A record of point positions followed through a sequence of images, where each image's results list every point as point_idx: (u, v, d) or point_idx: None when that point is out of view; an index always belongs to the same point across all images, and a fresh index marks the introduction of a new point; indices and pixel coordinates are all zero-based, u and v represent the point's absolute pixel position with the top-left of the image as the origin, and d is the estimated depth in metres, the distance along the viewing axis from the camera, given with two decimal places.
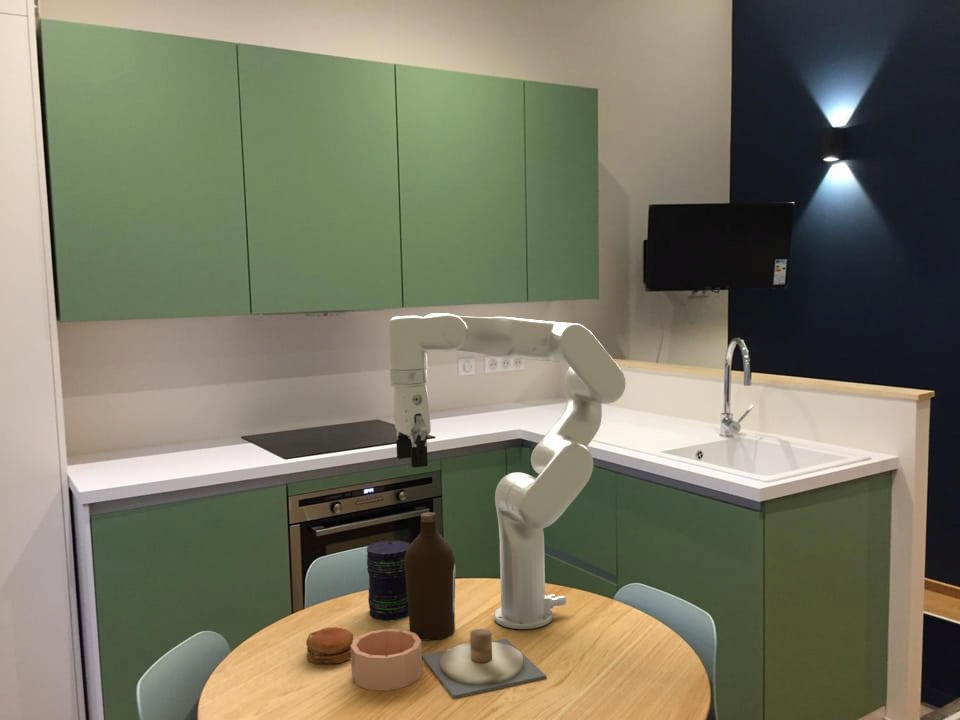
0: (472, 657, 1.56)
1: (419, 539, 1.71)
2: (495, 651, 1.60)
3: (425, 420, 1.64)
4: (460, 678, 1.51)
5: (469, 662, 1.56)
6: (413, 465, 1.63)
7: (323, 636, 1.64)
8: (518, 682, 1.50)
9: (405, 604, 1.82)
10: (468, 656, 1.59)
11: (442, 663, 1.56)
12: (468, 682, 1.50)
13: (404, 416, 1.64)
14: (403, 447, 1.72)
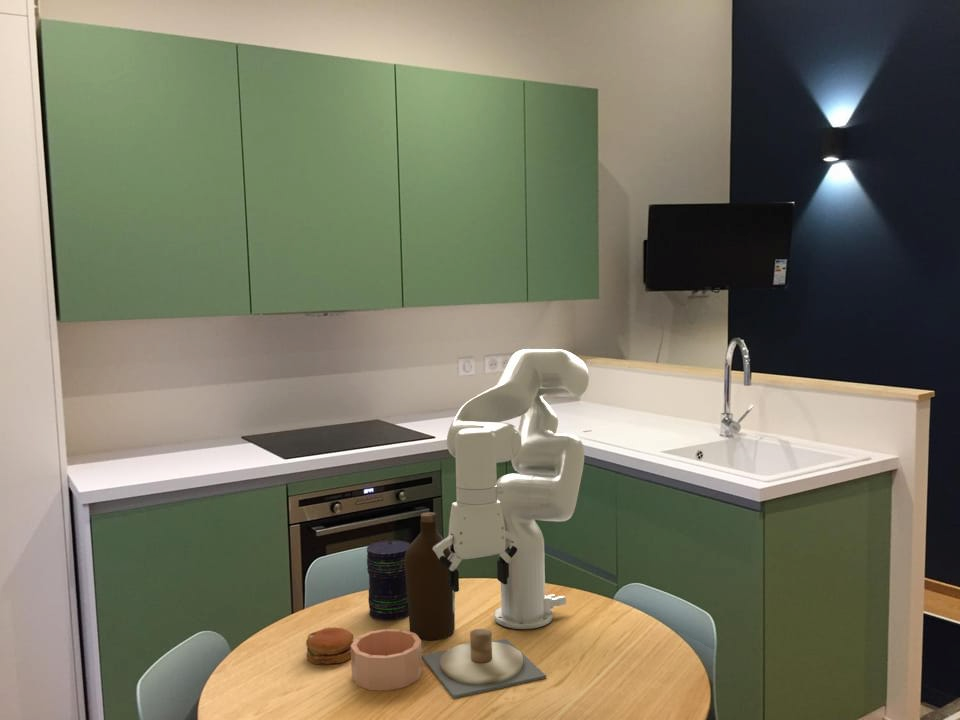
0: (472, 657, 1.56)
1: (419, 539, 1.71)
2: (495, 651, 1.60)
3: None
4: (460, 678, 1.51)
5: (469, 662, 1.56)
6: None
7: (322, 636, 1.64)
8: (518, 682, 1.50)
9: (405, 604, 1.82)
10: (468, 656, 1.59)
11: (442, 663, 1.56)
12: (468, 682, 1.50)
13: (498, 534, 1.54)
14: None
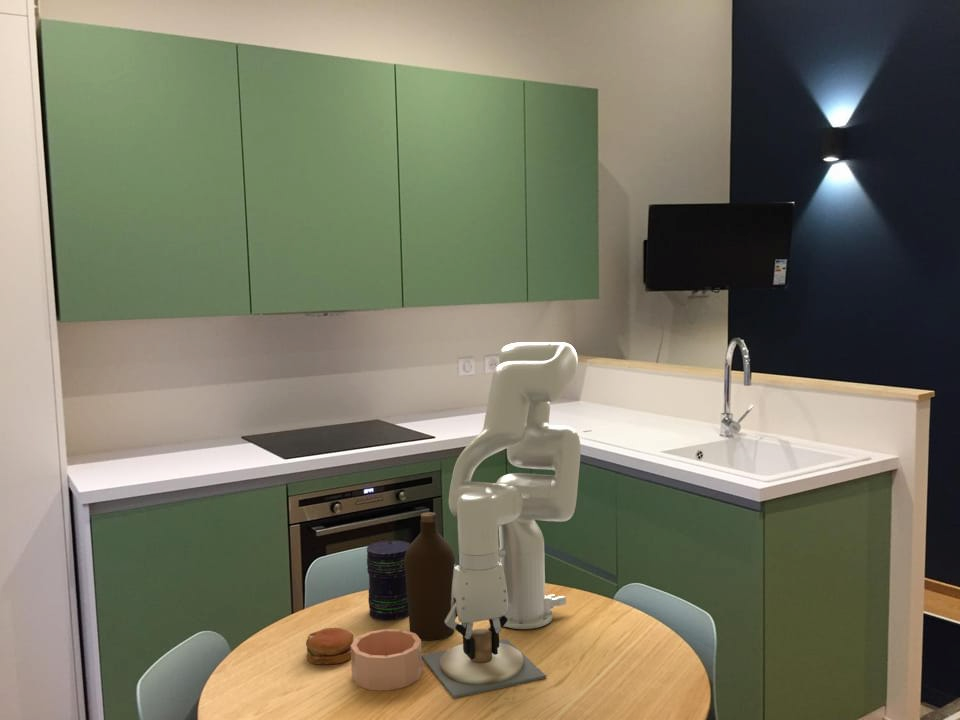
0: None
1: (419, 539, 1.71)
2: None
3: None
4: (460, 678, 1.51)
5: (469, 662, 1.56)
6: None
7: (322, 636, 1.63)
8: (518, 682, 1.50)
9: (405, 604, 1.82)
10: None
11: (442, 663, 1.56)
12: (468, 682, 1.50)
13: (500, 597, 1.55)
14: None
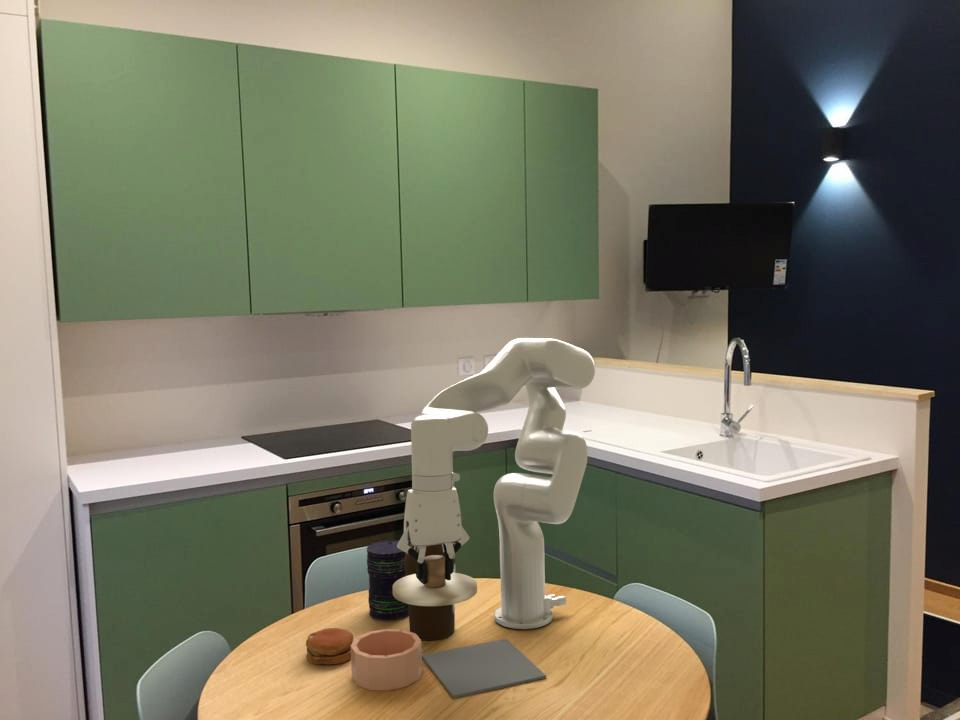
0: None
1: None
2: None
3: None
4: (412, 600, 1.48)
5: (422, 587, 1.53)
6: None
7: (322, 637, 1.63)
8: (518, 682, 1.50)
9: (405, 604, 1.82)
10: (421, 583, 1.56)
11: (394, 588, 1.53)
12: (420, 604, 1.47)
13: (454, 521, 1.53)
14: None
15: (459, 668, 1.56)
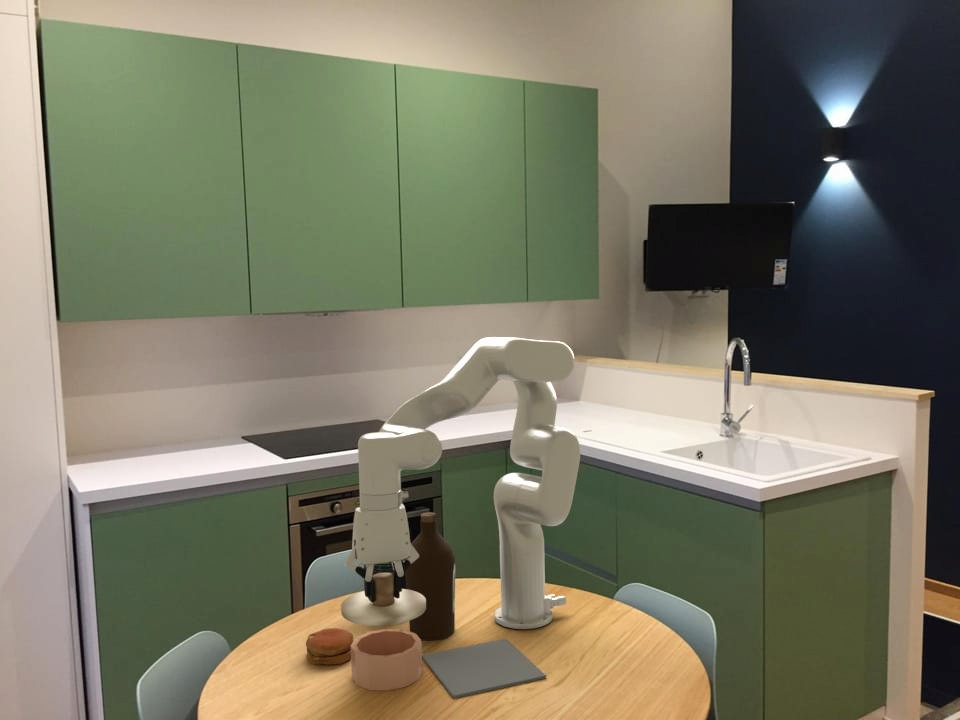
0: None
1: (419, 539, 1.71)
2: None
3: None
4: (357, 619, 1.48)
5: (370, 605, 1.53)
6: None
7: (322, 637, 1.63)
8: (518, 682, 1.50)
9: None
10: None
11: (342, 606, 1.53)
12: (365, 623, 1.47)
13: (402, 540, 1.53)
14: None
15: (459, 668, 1.56)
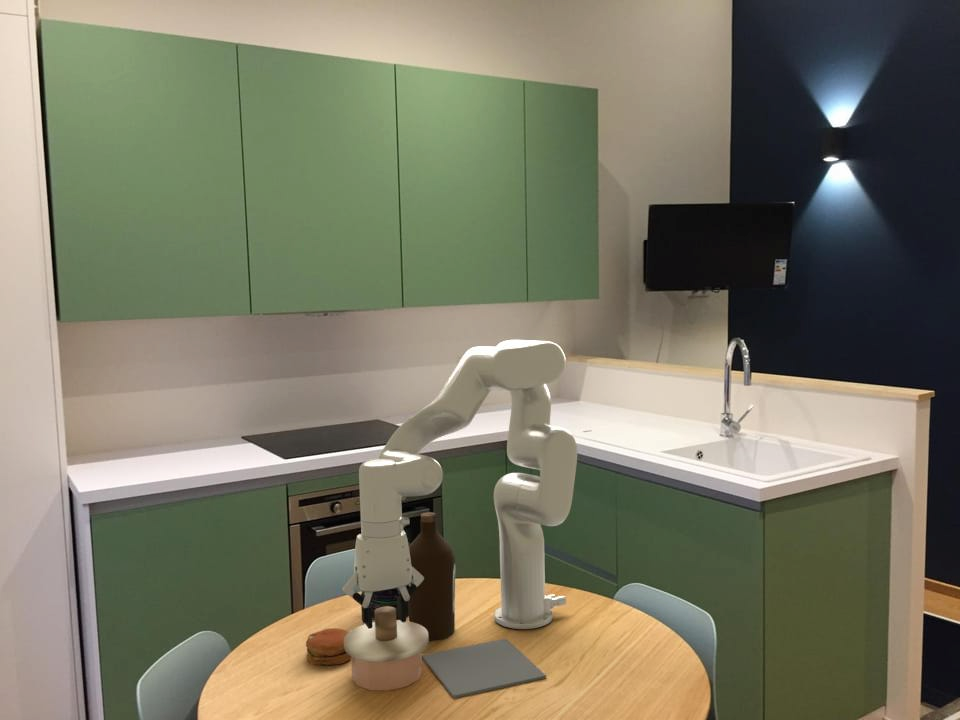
0: (376, 635, 1.54)
1: (419, 539, 1.71)
2: (402, 629, 1.58)
3: None
4: (360, 655, 1.48)
5: (373, 640, 1.54)
6: (405, 619, 1.55)
7: (322, 637, 1.63)
8: (518, 682, 1.50)
9: None
10: (373, 634, 1.56)
11: (345, 641, 1.54)
12: (368, 659, 1.48)
13: (403, 566, 1.53)
14: None
15: (459, 668, 1.56)
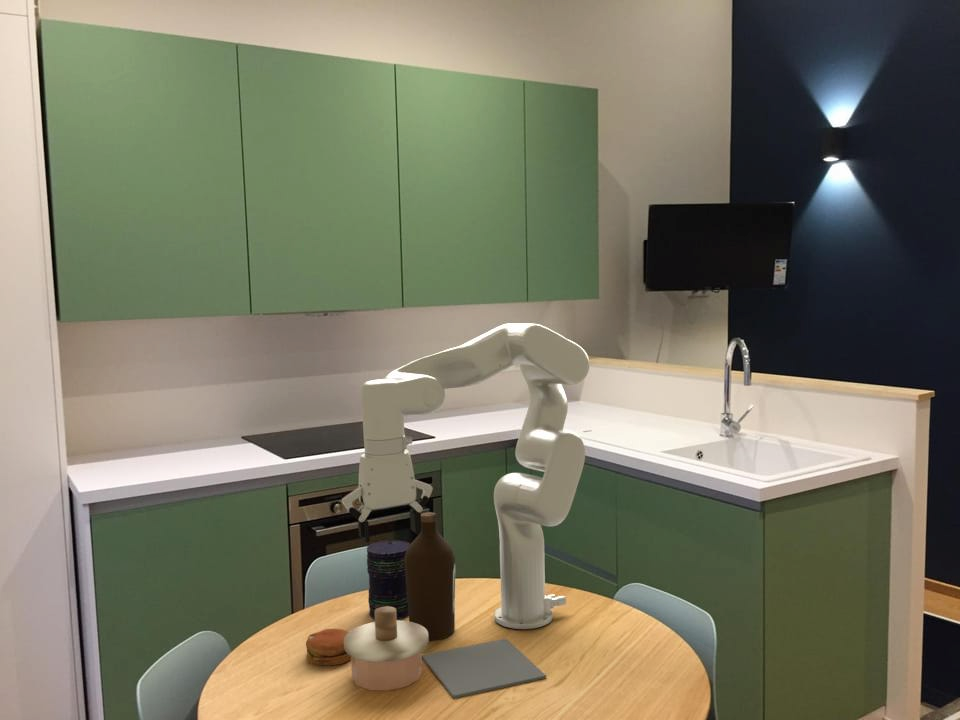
0: (376, 635, 1.54)
1: (419, 539, 1.71)
2: (402, 629, 1.58)
3: None
4: (360, 655, 1.48)
5: (373, 640, 1.54)
6: (418, 531, 1.57)
7: (322, 637, 1.63)
8: (518, 682, 1.50)
9: (405, 604, 1.82)
10: (373, 634, 1.56)
11: (345, 641, 1.54)
12: (368, 659, 1.48)
13: (408, 484, 1.55)
14: None
15: (459, 668, 1.56)
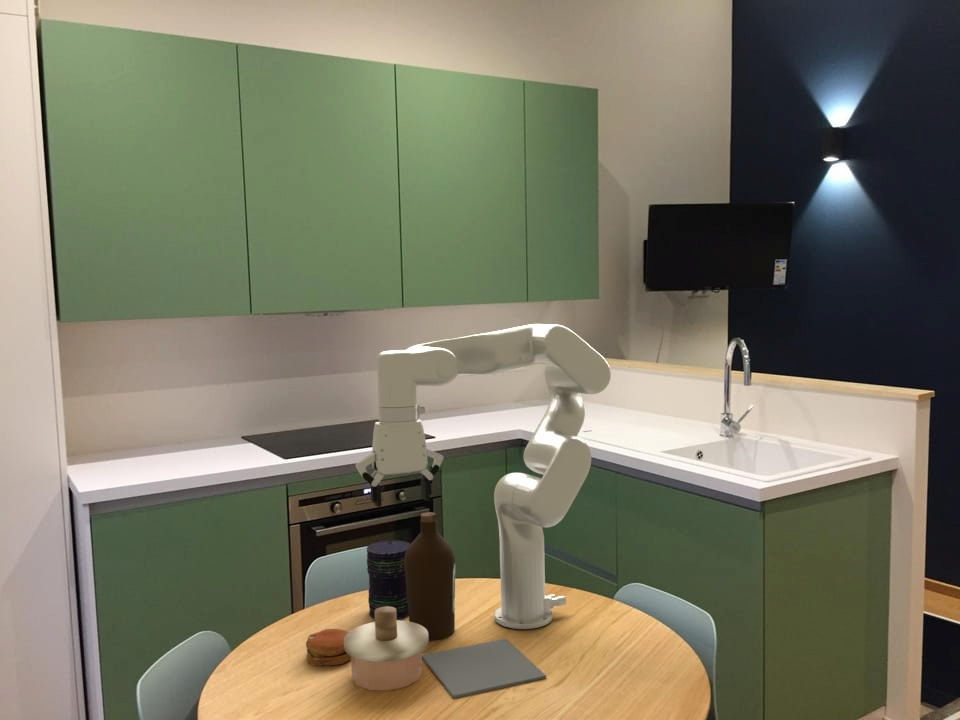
0: (376, 635, 1.54)
1: (419, 539, 1.71)
2: (402, 629, 1.58)
3: None
4: (360, 655, 1.48)
5: (373, 640, 1.54)
6: None
7: (322, 637, 1.63)
8: (518, 682, 1.50)
9: (405, 604, 1.82)
10: (373, 634, 1.56)
11: (345, 641, 1.54)
12: (368, 659, 1.48)
13: (419, 452, 1.60)
14: None
15: (459, 668, 1.56)
